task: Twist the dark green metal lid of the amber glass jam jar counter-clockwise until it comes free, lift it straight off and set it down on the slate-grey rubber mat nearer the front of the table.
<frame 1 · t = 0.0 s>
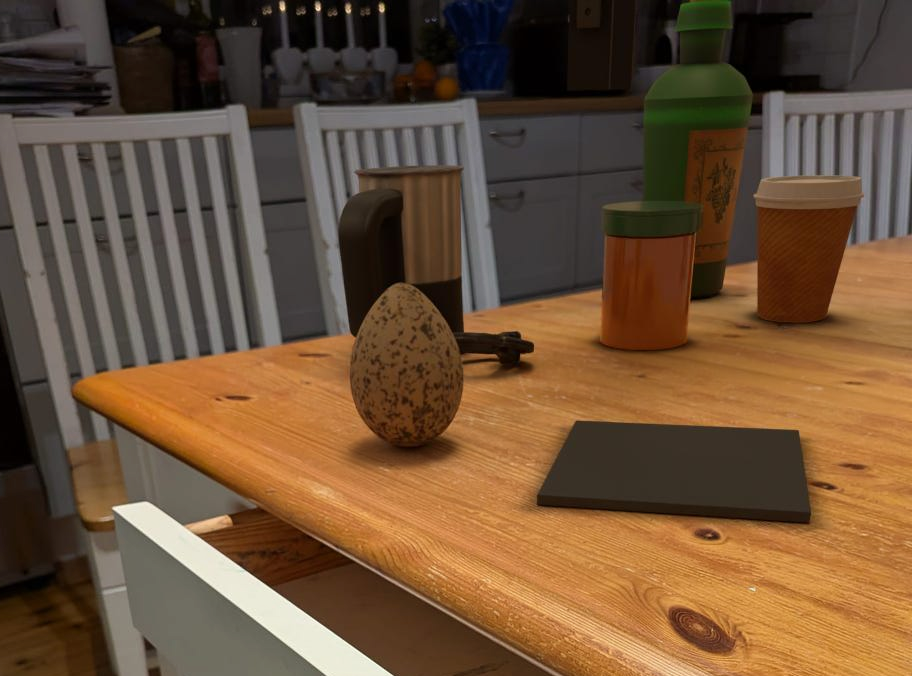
hand: (602, 90, 68), 20 cm above the table, tool pointing down, fingers open, 13 cm apart
decorative egg: (410, 447, 62), on the table
mat: (676, 469, 56), on the table
jam jar: (642, 340, 86), on the table
jar lid: (651, 210, 80), point 11 cm above the table, screwed on, not yet turned
bottle: (681, 295, 105), on the table
disposable coffee cup: (790, 318, 92), on the table
milk frother: (447, 359, 83), on the table
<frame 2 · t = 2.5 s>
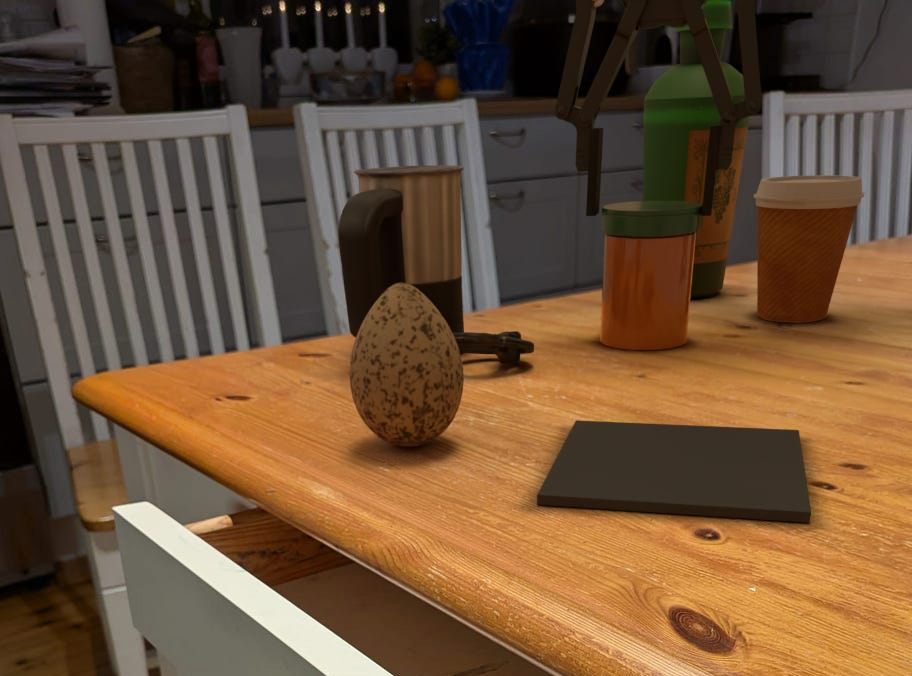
hand: (648, 214, 81), 10 cm above the table, tool pointing down, fingers open, 9 cm apart
nothing on the table moved.
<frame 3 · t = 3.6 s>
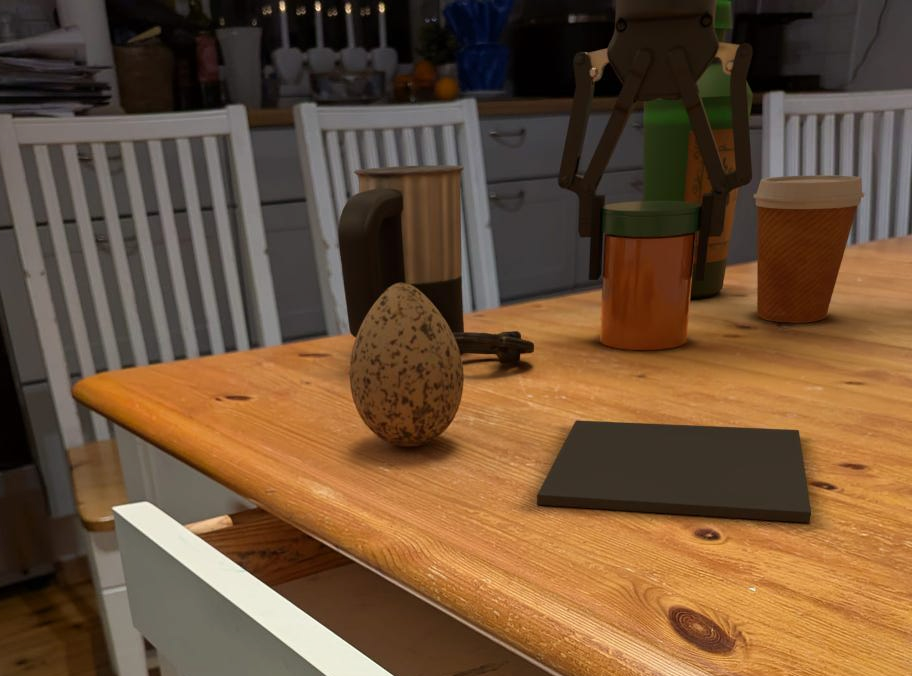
hand: (646, 277, 83), 5 cm above the table, tool pointing down, fingers closed on jar lid, 8 cm apart
jar lid: (651, 210, 80), point 11 cm above the table, screwed on, not yet turned, touching gripper
everything else where it was.
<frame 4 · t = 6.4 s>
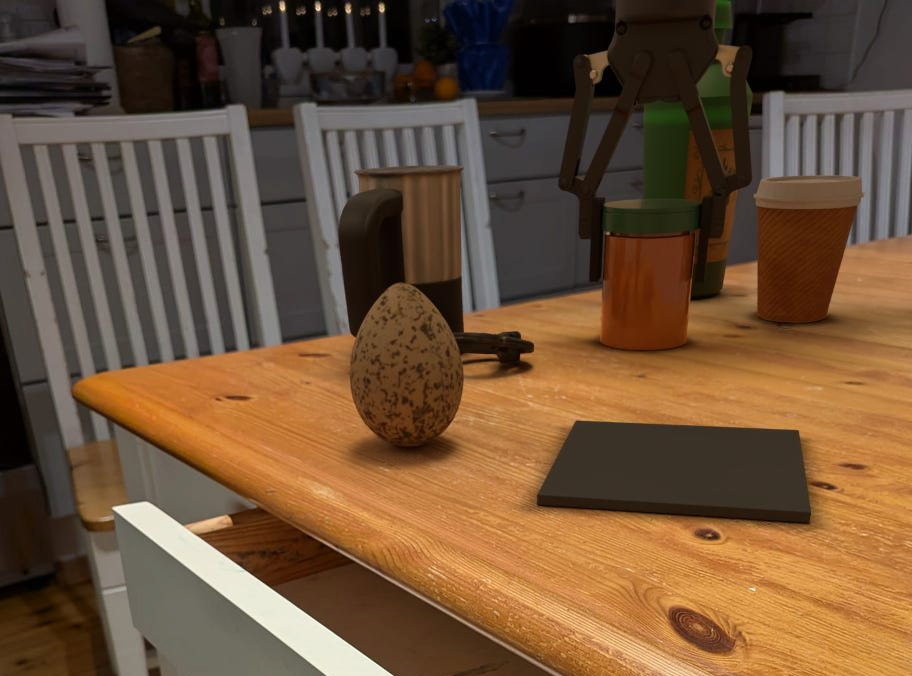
hand: (647, 279, 83), 5 cm above the table, tool pointing down, fingers closed on jar lid, 8 cm apart
jar lid: (651, 208, 80), point 11 cm above the table, turned 62° so far, risen 0.2 cm, still on its thread, touching gripper
everything else where it was.
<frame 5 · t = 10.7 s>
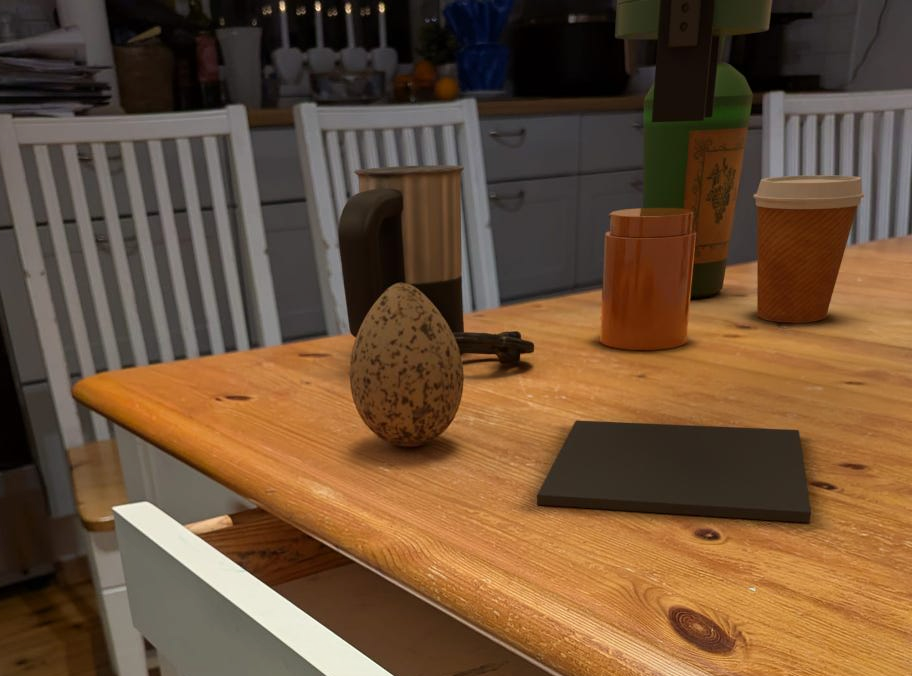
hand: (684, 119, 55), 18 cm above the table, tool pointing down, fingers closed on jar lid, 8 cm apart
jar lid: (693, 1, 52), point 24 cm above the table, off its thread, touching gripper
everything else where it was.
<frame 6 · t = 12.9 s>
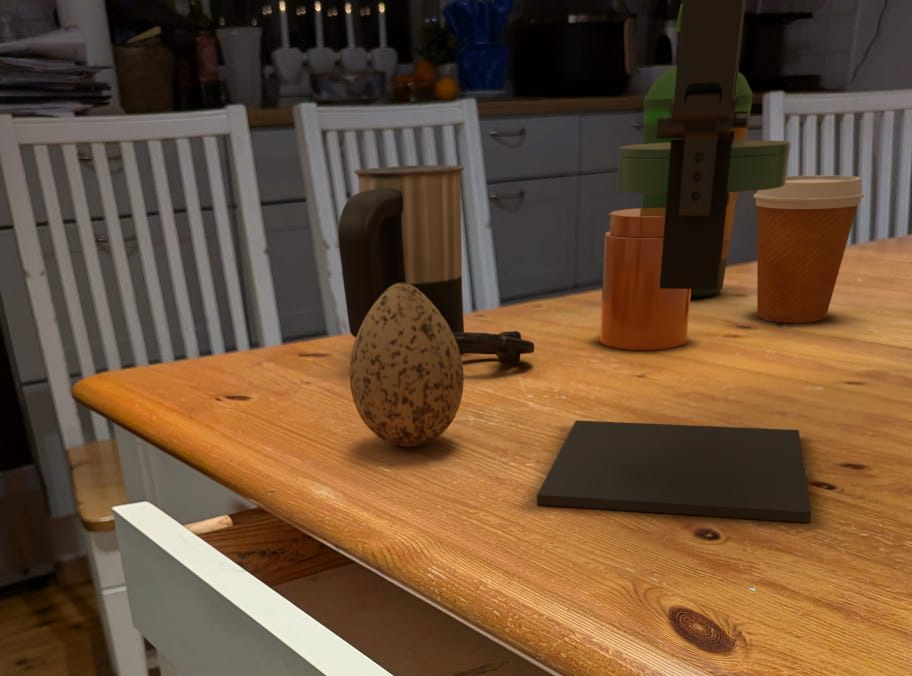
hand: (692, 272, 51), 11 cm above the table, tool pointing down, fingers closed on jar lid, 8 cm apart
jar lid: (702, 153, 48), point 17 cm above the table, off its thread, touching gripper
everything else where it was.
when the fingers open (3 cm above the table, at t = 15.0 s): jar lid drops 6 cm, resting on mat.
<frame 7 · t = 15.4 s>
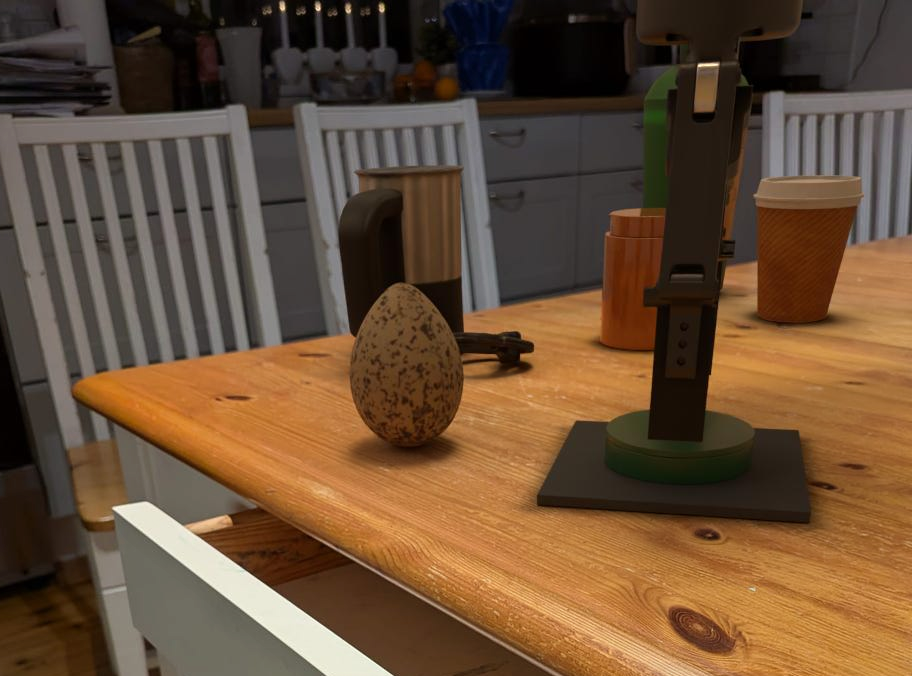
hand: (682, 403, 54), 4 cm above the table, tool pointing down, fingers open, 13 cm apart
jar lid: (678, 435, 55), point 2 cm above the table, off its thread, touching mat
everything else where it was.
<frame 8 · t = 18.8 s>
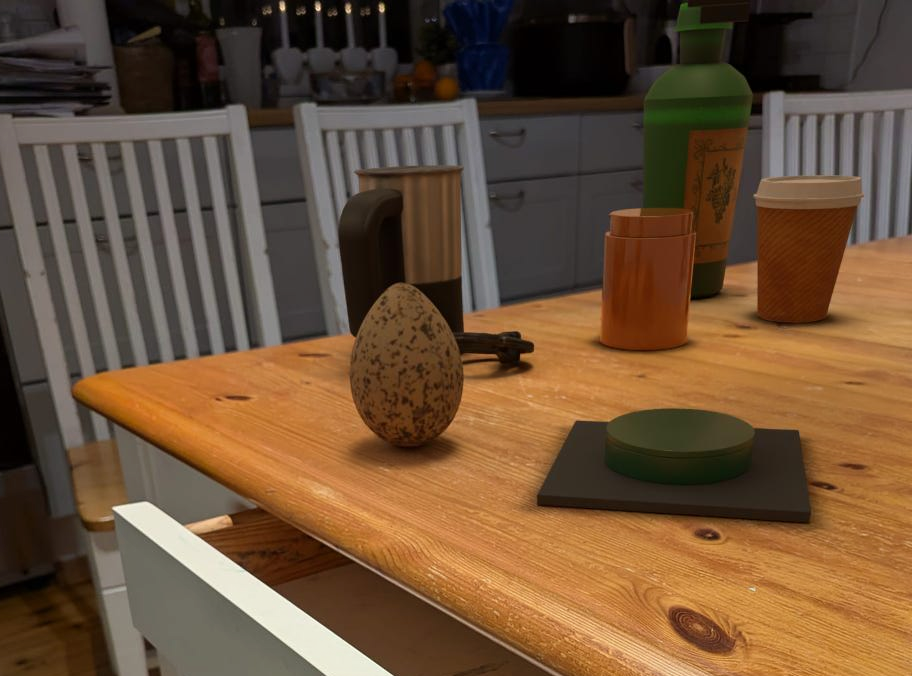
hand: (721, 15, 50), 23 cm above the table, tool pointing down, fingers open, 13 cm apart
nothing on the table moved.
at the end: the gripper is holding nothing; jar lid point 2.1 cm above the table; jar lid inside the target area on the mat (0.1 cm from its centre), point 2.1 cm above the mat's base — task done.
